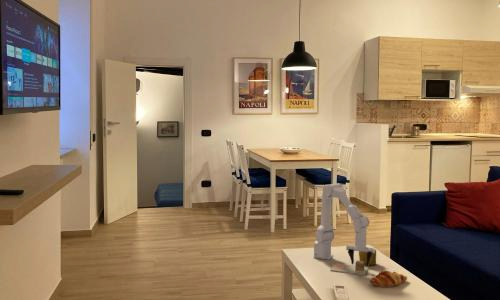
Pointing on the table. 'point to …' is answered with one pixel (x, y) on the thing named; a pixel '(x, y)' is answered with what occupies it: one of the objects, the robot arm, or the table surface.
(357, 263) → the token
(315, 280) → the table surface
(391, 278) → the croissant
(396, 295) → the table surface
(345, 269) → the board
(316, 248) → the robot arm
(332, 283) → the table surface
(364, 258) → the mug
